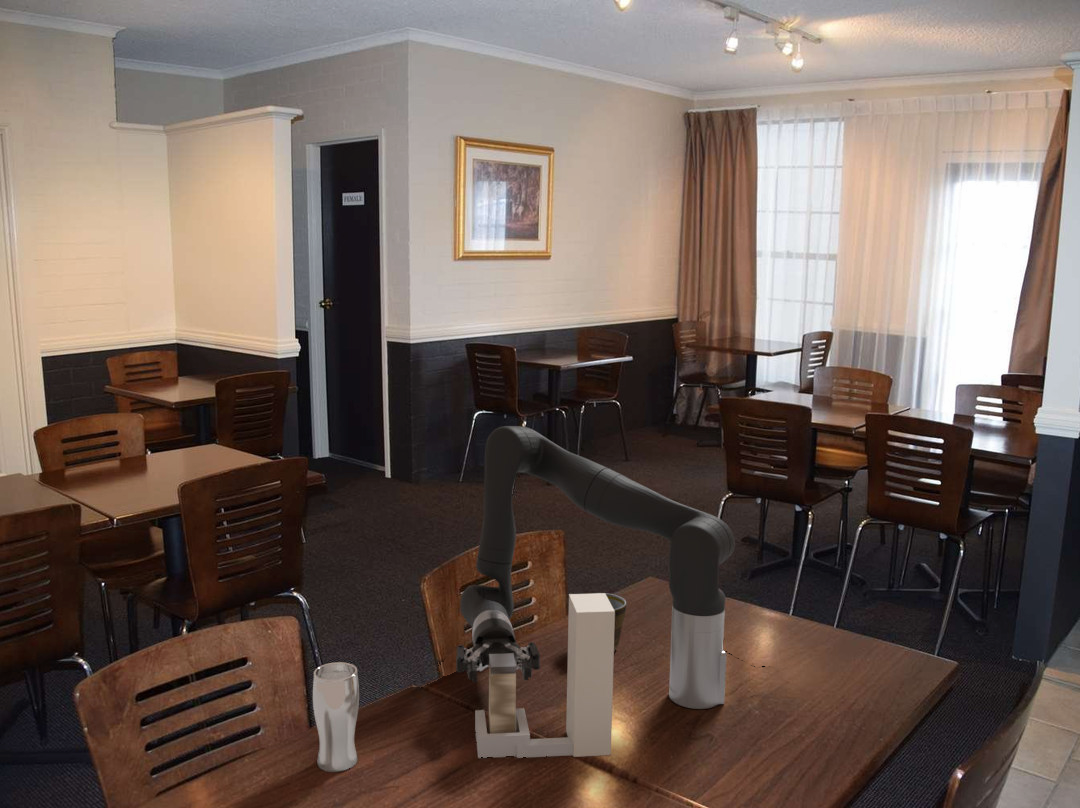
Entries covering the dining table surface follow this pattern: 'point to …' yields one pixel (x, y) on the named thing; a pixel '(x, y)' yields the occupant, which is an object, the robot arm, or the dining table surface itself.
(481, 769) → the dining table surface
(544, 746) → the white socket stand
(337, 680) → the beer glass
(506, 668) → the rail end
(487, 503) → the robot arm
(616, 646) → the ceramic cup
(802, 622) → the dining table surface
